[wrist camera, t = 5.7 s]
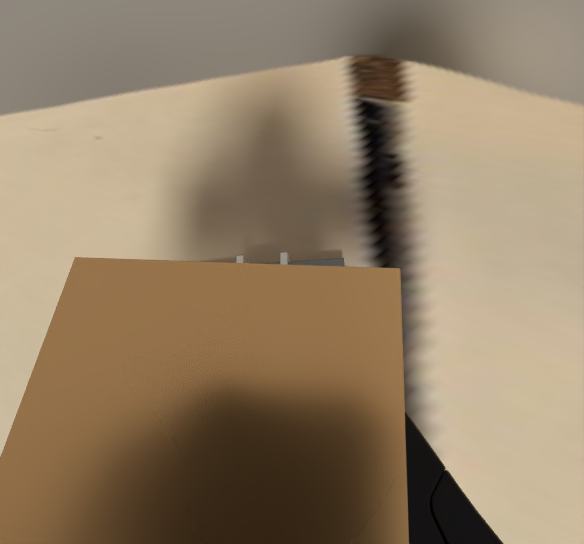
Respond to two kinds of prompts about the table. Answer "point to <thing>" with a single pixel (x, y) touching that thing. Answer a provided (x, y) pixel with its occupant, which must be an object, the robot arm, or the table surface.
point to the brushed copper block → (213, 409)
